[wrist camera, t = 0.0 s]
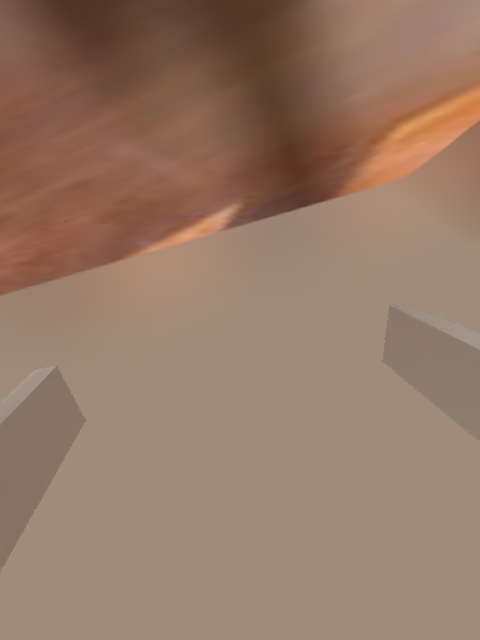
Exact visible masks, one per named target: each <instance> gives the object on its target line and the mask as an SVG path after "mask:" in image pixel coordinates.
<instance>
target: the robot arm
mask: <svg viewBox="0 0 480 640" xmlns="http://www.w3.org/2000/svg"><path fill="white" fill-rule="evenodd" d="M383 362H384V363H385V364H386V365H387V366H388V367H390V368H391V369H392V370H393V371H395V372H396V373H397V374H398V375H400V376H401V377H402V378H403V379H404V380H405V381H407V382H408V383H409V384H410V385H412V386H413V387H414V388H415V389H416V390H417V391H419V392H420V393H421V394H422V395H423V396H425V397H426V398H427V399H428V400H430V401H431V402H432V403H433V404H434V405H436V406H437V407H438V408H439V409H440V410H442V411H443V412H444V413H445V414H447V415H448V416H449V417H450V418H451V419H453V420H454V421H455V422H456V423H457V424H459V425H460V426H461V427H462V428H463V429H465V430H466V431H467V432H468V433H470V434H471V435H472V436H473V437H474V438H475V439H477V440H478V441H479V442H480V334H479V333H477V332H475V331H472V330H470V329H468V328H465V327H463V326H461V325H458V324H456V323H454V322H452V321H449V320H447V319H445V318H443V317H440V316H438V315H436V314H433V313H431V312H428V311H426V310H424V309H422V308H420V307H417V306H415V305H413V304H410V303H408V302H405V303H399V304H393V305H390V306H389V313H388V322H387V329H386V337H385V346H384V353H383ZM85 421H86V420H85V418H84V416H83V414H82V412H81V411H80V409H79V407H78V405H77V403H76V401H75V399H74V397H73V395H72V394H71V392H70V390H69V388H68V386H67V384H66V382H65V380H64V379H63V377H62V375H61V373H60V371H59V369H58V367H57V366H54V367H48V368H43V369H36V370H34V371H33V372H32V373H31V374H30V375H29V376H28V377H27V378H26V379H25V380H24V381H23V382H22V383H21V384H19V385H18V386H17V387H16V388H15V389H14V390H13V391H12V392H11V393H10V394H9V395H8V396H7V397H6V398H5V399H3V400H2V401H1V402H0V571H1V569H2V568H3V566H4V564H5V562H6V561H7V559H8V557H9V555H10V554H11V552H12V550H13V548H14V546H15V545H16V543H17V541H18V539H19V538H20V536H21V534H22V532H23V530H24V529H25V527H26V525H27V523H28V522H29V520H30V518H31V516H32V515H33V513H34V511H35V509H36V508H37V506H38V504H39V502H40V500H41V498H42V497H43V495H44V493H45V492H46V490H47V488H48V486H49V485H50V483H51V481H52V479H53V477H54V476H55V474H56V472H57V470H58V469H59V467H60V465H61V463H62V462H63V460H64V458H65V456H66V455H67V452H68V451H69V449H70V447H71V446H72V444H73V442H74V440H75V439H76V437H77V435H78V433H79V432H80V430H81V428H82V426H83V424H84V422H85Z"/></svg>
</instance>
